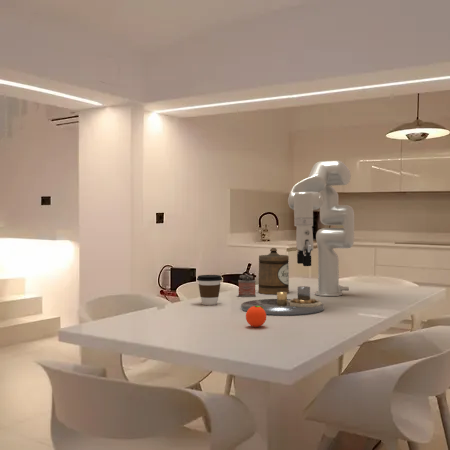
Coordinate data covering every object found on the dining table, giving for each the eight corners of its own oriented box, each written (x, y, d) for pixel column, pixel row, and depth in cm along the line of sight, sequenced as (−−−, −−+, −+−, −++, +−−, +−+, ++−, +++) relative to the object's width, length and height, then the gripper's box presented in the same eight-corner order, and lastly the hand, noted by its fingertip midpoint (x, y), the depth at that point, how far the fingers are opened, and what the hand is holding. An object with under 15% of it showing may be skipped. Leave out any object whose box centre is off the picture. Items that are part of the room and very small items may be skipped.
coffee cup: (219, 306, 226) (219, 277, 226) (193, 305, 228) (193, 277, 228) (224, 302, 237) (224, 274, 237) (200, 301, 239) (200, 274, 239)
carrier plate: (311, 301, 238) (311, 286, 238) (334, 314, 205) (334, 297, 205) (236, 303, 234) (236, 288, 234) (247, 316, 201) (247, 299, 201)
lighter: (255, 296, 256) (255, 274, 256) (255, 297, 252) (255, 275, 252) (238, 296, 256) (238, 274, 256) (238, 297, 253) (237, 275, 253)
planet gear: (312, 302, 226) (311, 285, 225) (318, 305, 216) (318, 288, 216) (290, 302, 225) (290, 285, 225) (295, 306, 215) (295, 288, 215)
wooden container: (288, 294, 259) (287, 248, 259) (257, 294, 262) (256, 248, 261) (289, 290, 274) (289, 247, 274) (260, 290, 276) (259, 247, 276)
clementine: (255, 323, 188) (255, 302, 188) (272, 325, 184) (272, 304, 184) (241, 327, 182) (241, 305, 182) (258, 329, 178) (258, 307, 178)
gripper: (318, 222, 212) (319, 266, 213) (307, 221, 229) (307, 262, 230) (299, 223, 211) (300, 267, 212) (289, 222, 228) (290, 262, 229)
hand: (304, 264), depth 221 cm, fingers open, 9 cm apart
